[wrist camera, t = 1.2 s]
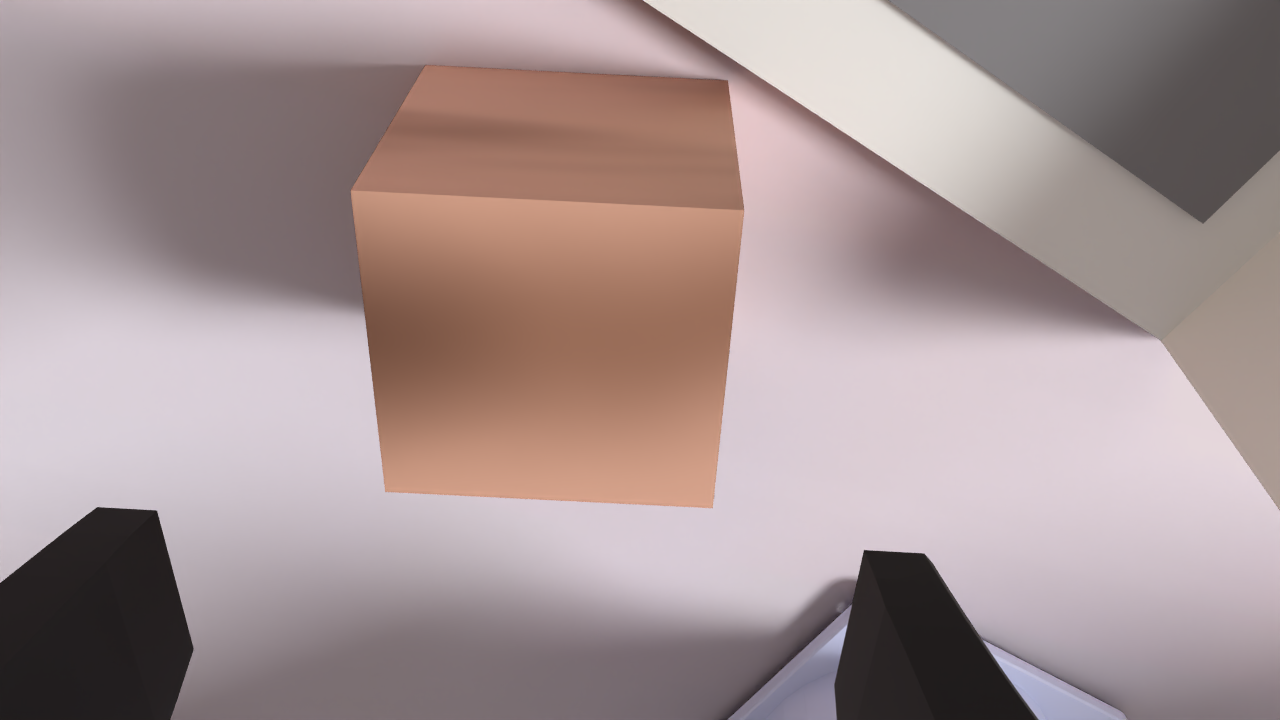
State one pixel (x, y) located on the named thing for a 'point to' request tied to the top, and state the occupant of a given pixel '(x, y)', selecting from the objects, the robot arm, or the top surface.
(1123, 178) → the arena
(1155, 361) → the top surface
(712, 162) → the cube
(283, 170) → the top surface
